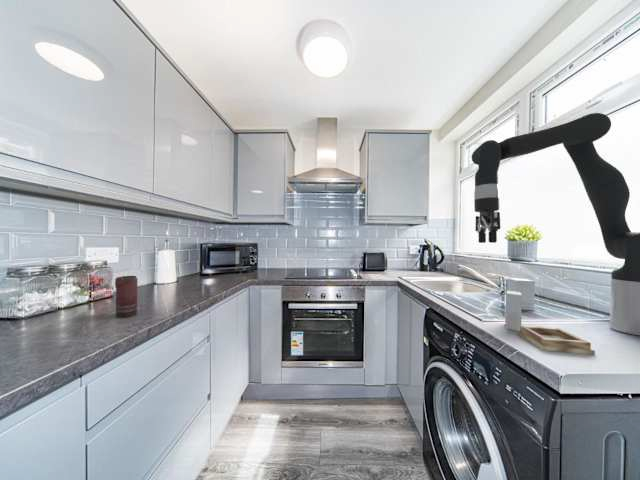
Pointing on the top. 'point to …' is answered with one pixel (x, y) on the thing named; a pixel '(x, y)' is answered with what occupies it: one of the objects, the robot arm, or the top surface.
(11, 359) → the top surface
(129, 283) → the can
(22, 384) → the top surface
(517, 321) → the skincare box
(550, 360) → the top surface
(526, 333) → the wooden tray
